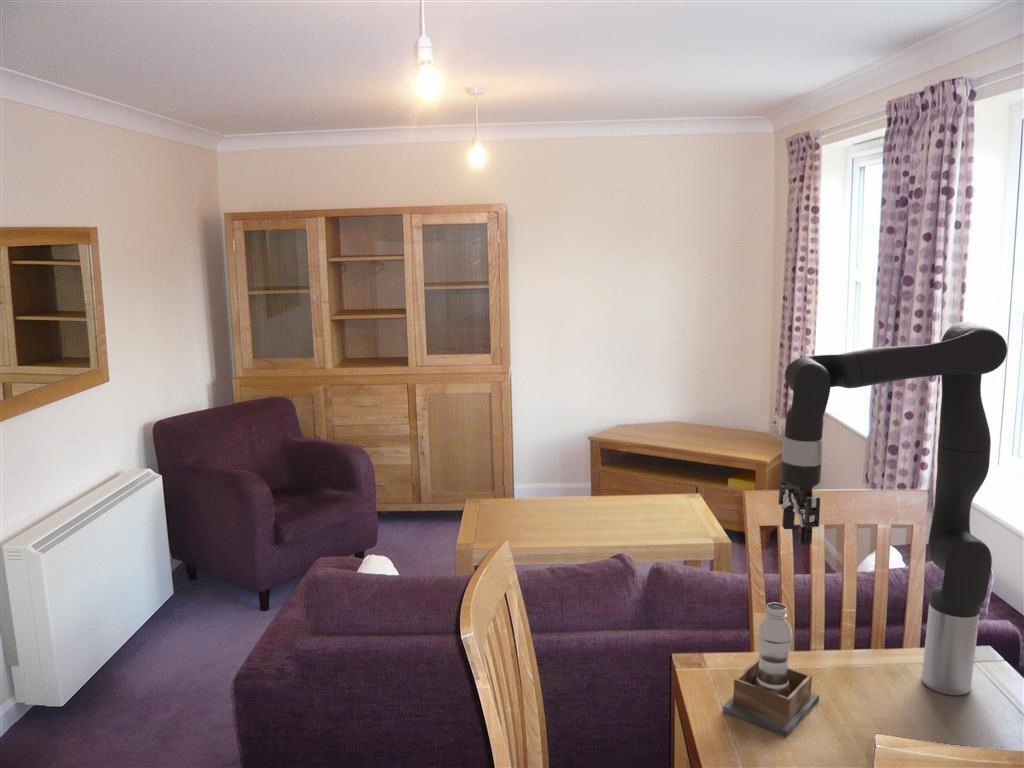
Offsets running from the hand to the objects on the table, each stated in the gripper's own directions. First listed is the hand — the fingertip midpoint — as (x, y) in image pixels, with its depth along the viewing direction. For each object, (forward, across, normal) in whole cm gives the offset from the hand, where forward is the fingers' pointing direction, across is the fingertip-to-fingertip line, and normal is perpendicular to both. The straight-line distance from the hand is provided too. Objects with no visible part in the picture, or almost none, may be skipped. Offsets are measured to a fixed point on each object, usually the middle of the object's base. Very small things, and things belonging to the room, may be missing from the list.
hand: (796, 536), depth 175 cm
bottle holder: (+32, -9, +7) cm, 34 cm away
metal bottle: (+31, -9, +7) cm, 33 cm away
